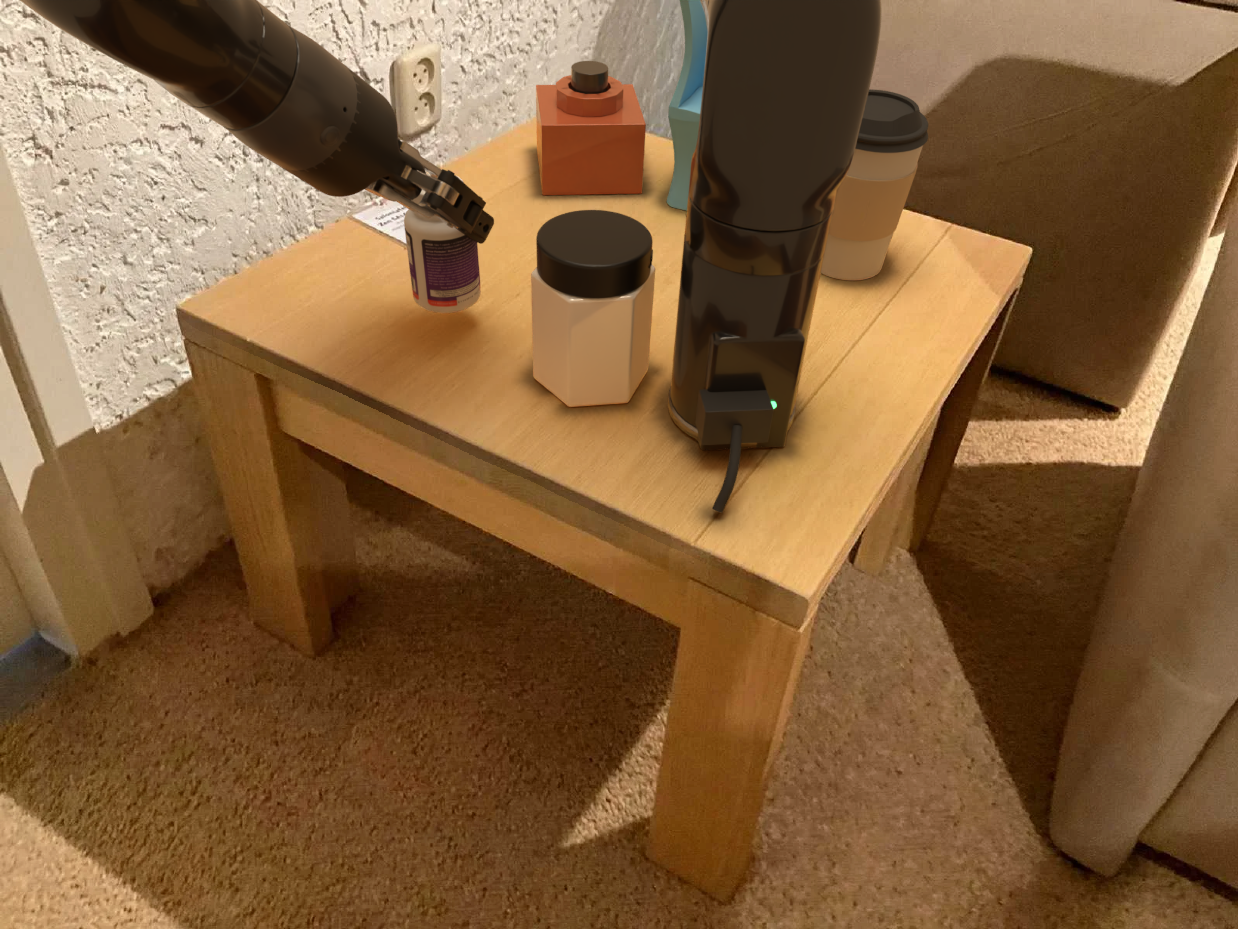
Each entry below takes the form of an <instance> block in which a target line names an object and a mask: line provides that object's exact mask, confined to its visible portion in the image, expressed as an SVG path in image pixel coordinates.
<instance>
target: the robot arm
mask: <svg viewBox="0 0 1238 929" xmlns="http://www.w3.org/2000/svg"><path fill="white" fill-rule="evenodd" d="M19 2H20V3H23V5H25V6H27V7H28V8H30V10H32V11H33V12H35V13H36V14H37V15H38V16H40V17H41V18H43V19H45V20H46V21H48V22H49V23H51V24H52V25H54V26H55V27H57V28H58V29H60V30H62V31H63V32H65V33H67V34H68V35H70V36H71V37H73V38H74V39H77V40H78V41H80V42H82V43H84V45H86V46H89V47H90V48H92V49H94V50H96V51H97V52H99V53H101V54H103V55H104V56H107V57H108V58H110V59H113V60H114V61H115V62H118V63H120V64H121V65H123V66H125V67H127V68H130V69H131V70H133V71H135V72H137V73H140V74H142V75H143V76H145V77H147V78H149V79H151V80H153V81H154V82H155V83H157V84H158V85H159V86H160V87H161V88H163V90H165V91H166V92H168V93H169V94H170V95H172V96H173V97H175V98H176V99H177V100H179V101H181V102H182V103H184V105H187V106H189V107H190V108H191V109H193V110H195V111H197V112H198V113H199V114H201V115H203V116H205V117H206V118H208V119H210V120H211V121H213V122H214V123H216V124H217V125H220V126H221V127H222V128H224V129H225V130H227V131H228V132H229V133H230V134H232V135H233V136H234V137H235V138H236V139H237V140H238V141H240V142H241V143H242V144H244V145H245V146H246V147H248V148H249V149H250V150H252V151H253V152H255V153H257V154H258V155H260V156H261V157H263V158H265V159H266V160H268V161H269V162H271V163H274V164H275V165H277V166H278V167H279V168H281V169H283V170H284V171H286V172H288V173H289V174H291V175H293V176H294V177H296V178H297V179H298V180H301V181H302V182H305V183H306V184H307V185H309V186H311V187H312V188H313V189H316V190H317V191H319V192H320V193H322V194H324V195H326V196H329V197H335V198H336V197H337V198H345V197H349V196H354V195H356V194H358V193H360V192H362V191H366V192H368V193H371V194H373V195H375V196H376V197H378V198H382V199H384V200H387V201H390V202H395V203H398V204H399V205H402V206H403V207H405V208H406V209H407V210H408V209H410V210H411V211H413V212H415V213H416V214H418V215H420V216H423V217H426V218H431V217H433V216H435V217H437V218H438V219H440V220H442V221H443V222H445V223H447V224H446V225H447V226H448V227H450V228H453V227H454V228H456V229H457V230H459V231H460V232H461V233H463V234H464V235H466V236H467V237H469V238H470V239H472V240H473V241H475V242H477V244H484V243H485V242H486V240H487V239H488V237H489V235H490V233H491V231H492V229H493V227H494V225H495V219H494V217H493V216H492V215H491V214H489V213H488V212H486V211H485V210H484V208H485V207H486V205H487V202H486V200H484V198H483V197H482V196H480V195H479V194H477V192H475V191H474V190H472V189H471V188H470V187H469V186H468V185H467V184H466V183H465V182H464V181H463V182H464V183H463V182H462V181H461V180H460V179H459V178H458V177H459V176H458V175H456V176H455V172H453V171H452V170H450V169H447V170H446V169H444V168H440V167H439V166H437V165H435V164H434V163H433V162H431V161H429V160H428V159H427V158H425V157H423V156H422V155H421V152H420V151H419V150H418V149H417V148H416V147H414V146H413V145H411V144H410V143H408V142H406V141H405V140H404V139H401V138H399V135H398V128H399V127H398V120H397V115H396V112H395V110H394V108H393V106H392V104H391V103H390V101H389V100H388V99H387V98H386V97H385V96H384V95H383V94H382V93H381V92H380V91H378V90H377V89H375V87H373V86H372V85H370V83H368V82H367V81H366V80H365V79H363V78H362V77H361V76H359V75H358V74H357V73H356V72H355V71H354V70H352V69H350V67H348V66H347V65H346V64H344V63H343V62H342V61H341V60H340V59H338V58H337V57H336V56H334V55H333V54H332V53H331V52H329V50H327V49H326V48H324V47H323V45H321V44H319V43H318V42H317V41H315V40H314V39H313V38H312V37H310V36H308V35H306V34H304V33H302V32H301V31H299V30H297V29H295V28H294V27H292V26H291V25H290V24H288V23H287V22H285V21H284V20H283V19H281V18H280V17H278V16H277V15H276V14H275V13H273V12H272V10H270V9H269V8H267V7H266V6H265V5H264V4H262V3H261V2H260V1H258V0H19ZM700 2H701V4H702V7H703V10H704V13H705V19H706V25H707V31H708V34H707V47H706V59H705V70H704V80H703V91H702V101H701V111H700V121H699V131H698V139H697V144H696V149H695V150H694V153H693V156H692V160H691V171H690V183H689V194H688V204H687V211H686V217H685V228H684V235H683V236H684V237H683V245H682V246H683V247H682V258H681V268H680V269H681V270H680V279H679V290H678V291H679V292H678V300H677V301H678V302H677V311H676V312H677V313H676V323H675V332H674V344H673V356H672V369H671V370H672V372H671V380H670V381H671V382H670V387H669V389H668V398H667V408H668V413H669V416H670V419H672V421H673V422H674V424H675V425H676V426H677V427H678V428H679V429H680V430H681V431H682V432H683V433H684V434H686V435H687V436H689V437H691V438H692V439H694V440H696V441H697V443H698V447H699V449H700V450H702V451H720V450H721V451H722V450H724V451H725V450H729V453H728V454H729V455H728V463H727V468H726V472H725V475H724V476H725V477H724V479H723V482H722V485H721V487H720V490H719V491H718V495H717V497H716V499H715V501H714V503H713V505H712V508H711V509H712V510H713V511H715V512H717V513H721V514H723V512H724V511H725V508H726V506H727V504H728V502H729V499H730V497H731V495H732V493H733V490H734V488H735V485H736V481H737V478H738V473H739V469H740V464H741V463H740V462H741V453H742V452H741V451H742V450H748V449H764V448H765V449H766V448H782V447H785V445H786V440H787V436H788V432H789V430H790V429H791V427H792V425H793V422H794V418H795V414H796V406H797V405H796V404H797V403H796V401H797V396H798V391H799V385H800V382H801V381H800V380H801V376H802V371H803V370H802V369H803V365H804V360H805V355H806V351H807V350H806V349H807V344H808V338H809V335H810V329H811V325H812V324H811V323H812V319H813V315H814V314H813V313H814V309H815V304H816V299H817V294H818V288H819V284H820V279H821V275H822V273H821V269H822V264H823V259H824V254H825V250H826V245H827V240H828V235H829V230H830V225H831V220H832V215H833V209H834V206H835V201H836V196H837V191H838V188H839V186H840V184H841V183H842V181H843V180H844V178H845V176H846V175H847V172H848V170H849V168H850V165H851V162H852V159H853V155H854V151H855V147H856V143H857V139H858V135H859V131H860V126H861V122H862V118H863V114H864V109H865V105H866V101H867V97H868V92H869V89H871V88H870V87H871V84H872V79H873V76H874V75H873V74H874V69H875V65H876V61H877V60H876V59H877V55H878V49H879V44H880V36H881V27H882V0H700ZM426 172H427V173H426ZM428 173H429V174H430V175H431V176H429V175H427V174H428ZM457 176H458V177H457ZM422 190H424V191H425V194H424V196H423V198H422V200H421V202H419V203H415V202H414V201H412V200H413V199H415V198H417V197H418V196H419V195H420V193H421V191H422Z"/></svg>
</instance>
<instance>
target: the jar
mask: <svg viewBox="0 0 1238 929" xmlns="http://www.w3.org/2000/svg"><path fill="white" fill-rule="evenodd" d="M535 239H536V240H535V242H536V243H535V244H536V267H535V268H534V269H533V270H532V271H531V273H530V285H531V286H530V288H531V290H530V292H531V294H530V296H531V329H532V331H531V332H532V335H531V336H532V337H531V338H532V376H533V378H534V379H535V381H537V382H538V383H539V384H540V385H542V386H543V387H544V388H545V389H546V390H548V391H549V392H551V394H552V395H553V396H555V397H556V398H557V399H559V400H560V401H561V402H562V403H563V404H564V405H566V406H567V407H568V408H574V407H587V406H588V407H591V406H603V405H619V404H627V403H629V402H630V401H631V399H632V397H633V396H634V394H635V392H636V391H637V389H638V387H639V386H640V384H641V382H642V381H643V379H644V377H645V376H646V374H647V373H648V370H649V364H650V363H649V362H650V351H651V349H650V348H651V335H652V323H653V322H652V321H653V311H654V310H653V308H654V294H655V281H656V267H655V265H653V257H654V249H653V236H652V234H651V232H650V231H649V229H648V228H647V226H645V225H644V224H643V223H642V222H640V221H639V220H637V219H635V218H634V217H631V216H628V215H626V214H623V213H620V212H615V211H611V210H604V209H580V210H572V211H569V212H564V213H561V214H558V215H556V216H554V217H552V218H550V219H549V220H546V221H545V222H544V223H543V224H542V225H541V226H540V228H539V229H538V231H537V233H536V238H535Z"/></svg>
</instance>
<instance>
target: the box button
mask: <svg viewBox="0 0 1238 929" xmlns="http://www.w3.org/2000/svg"><path fill="white" fill-rule="evenodd" d="M570 75H571V90H573V91H575V92H578V93H583V94H599V93H604V92H607V91H608V76H609V66H608V65H607V64H605V63H603V62H600V61H596V60H581V61H577V62H574V63H573V64H571V67H570Z"/></svg>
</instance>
